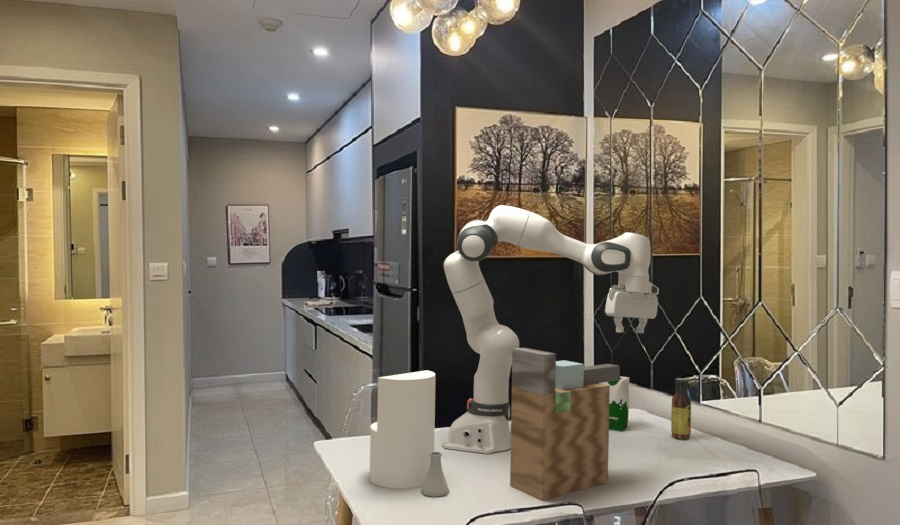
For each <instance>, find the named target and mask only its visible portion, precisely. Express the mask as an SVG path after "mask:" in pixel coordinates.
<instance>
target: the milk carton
mask: <svg viewBox="0 0 900 525" xmlns="http://www.w3.org/2000/svg"><path fill="white" fill-rule="evenodd" d="M601 384H605V385H609V386H610V391H609V431H616V432H623V431H624V430H626V429H627V428H629V427H628V424H629V411H630V409H629V408H630V407H629V406H630V404H629V403H630V397H629V396H630V377H629V376H628V377H627V376H621V372H620V373H619V380H617V381H610V382H602V383H601Z"/></svg>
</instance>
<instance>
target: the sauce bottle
mask: <svg viewBox="0 0 900 525" xmlns="http://www.w3.org/2000/svg"><path fill="white" fill-rule="evenodd" d="M688 381H689V380H688V378H682V377H681V378H680V377H677V378H675V379H674V383H675V389H674V390H675V393H674V394H673V396H672V399H671V417H670V418H671V423H670V424H671V426H670V427H671V428H670V429H671V430H670V432H671V437H672V438H673V439H676V440H683V441H685V440H686V441H687V440H690V439H691V434H692V402H691V401H692V400H691V399H690V395H689V393H688V392H689V391H688V384H689V382H688Z"/></svg>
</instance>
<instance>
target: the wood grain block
mask: <svg viewBox="0 0 900 525" xmlns="http://www.w3.org/2000/svg"><path fill="white" fill-rule="evenodd" d="M556 361H557V353H554V352H550V351H546V350H545V351H543V350H540V349H539V350H538V349H534V348H528V347H519V348H514V349H513V350H512V365H511V406H510V418H511V420H510V436H511V448H510V467H509V468H510V469H509V470H510V471H509V473H510V474H509V477H510V478H509V486H510V487H511V486H512V488H514V489H516V490H518V491H521V492H522V493H525V494H527V495H528V496H531V497H534V498H535V499H538V500H539V501H544V500H548V499H553V498H555V497H559V496H563V495H566V494H570V493H574V492H577V491H581V490H585V489H589V488H592V487H596V486H600V485H604V484H608V483H609V436H610V435H609V434H610V430H609V391H610V386H609V385H605V384H602V383H595V384H588V385H583V387H578V388H571V389H564V390H560V389H556V388H555V385H556Z"/></svg>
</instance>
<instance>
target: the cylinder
mask: <svg viewBox="0 0 900 525" xmlns="http://www.w3.org/2000/svg"><path fill="white" fill-rule="evenodd" d="M376 413H377V417H376V418H377V420H376V421H375V422H373V423H372V424H371V425H370V433H369V434H370V439H369V440H370V441H369V442H370V444H369V450H370V451H369V480H370V481H371V482H372V483H371V484H374V485H377V486H380V487H383V488H386V489H387V488H389V489H397V490H398V489H403V490H404V489H414V488H418V487H423V484H424V481H425V479H426V476H427V473H428V470H429V466H430V459H431V457H430V454H429V453H430V452H435V427H436V426H435V421H436V419H435V418H436V373H435V372H434V371H431V370H419V371H414V372H412V371H411V372H407V373H400V374H399V373H398V374H393V375H386V376H379V377H377V412H376Z"/></svg>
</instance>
